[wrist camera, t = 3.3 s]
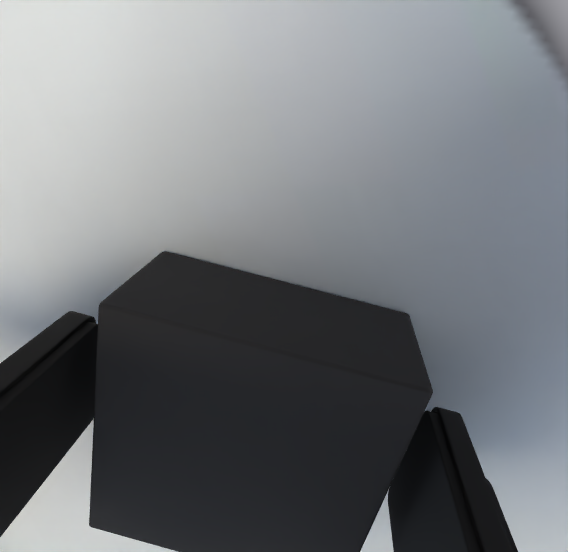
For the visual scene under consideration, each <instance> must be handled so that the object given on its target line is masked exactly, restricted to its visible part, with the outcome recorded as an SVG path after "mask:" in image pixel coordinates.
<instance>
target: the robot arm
mask: <svg viewBox="0 0 568 552" xmlns="http://www.w3.org/2000/svg"><path fill="white" fill-rule="evenodd" d="M97 338H98V324H96V320H95V318H94V317H92V316H88V315H85V314H81V313H77V312H73V311H70V312H68V313H66V314H65V315H63V316H62V317H61V318H59V319H58V320H57V321H55V322H54V323H53V324H52V325H50V326H49V327H48V328H46V329H45V330H44V331H42V332H41V333H40V334H38V335H37V336H36V337H34V338H33V339H32V340H31V341H29V342H28V343H27V344H25V345H24V346H23V347H21V348H20V349H19V350H17V351H16V352H15V353H13V354H12V355H11V356H9V357H8V358H7V359H5V360H4V361H3V362H1V363H0V537H1V536H2V534H3V533H4V532H5V530H6V529H7V528H8V527H9V525H10V524H11V523H12V522H13V520H14V519H15V518H16V516H17V515H18V514H19V513H20V511H21V510H22V509H23V508H24V506H25V505H26V504H27V503H28V501H29V500H30V499H31V497H32V496H33V495H34V494H35V492H36V491H37V490H38V489H39V487H40V486H41V485H42V483H43V482H44V481H45V480H46V478H47V477H48V476H49V475H50V473H51V472H52V471H53V469H54V468H55V467H56V466H57V464H58V463H59V462H60V461H61V459H62V458H63V457H64V456H65V454H66V453H67V452H68V450H69V449H70V448H71V447H72V445H73V444H74V443H75V442H76V440H77V439H78V438H79V436H80V435H81V434H82V433H83V431H84V430H85V429H86V428H87V426H88V425H89V424H90V423H91V421H92V420H93V418H94V406H95V383H96V361H97ZM388 506H389V514H390V523H391V531H392V540H393V548H394V552H518V550H517V548H516V545H515V543H514V540H513V538H512V535H511V533H510V530H509V528H508V525H507V522H506V520H505V517H504V515H503V512H502V510H501V507H500V505H499V502H498V500H497V497H496V495H495V492H494V490H493V487H492V485H491V484H490V482H489V481H488V480H487V479H486V478H485V476H484V473H483V471H482V468H481V465H480V463H479V460H478V458H477V455H476V452H475V450H474V447H473V445H472V442H471V439H470V437H469V434H468V432H467V429H466V426H465V424H464V421H463V419H462V416H461V415H460V414H459V413H457V412H454V411H450V410H446V409H442V408H438V407H434V408H433V409H432V411H431V412H430V411H425V412H424V413H423V415H422V417H421V419H420V422H419V424H418V426H417V428H416V430H415V433H414V435H413V437H412V439H411V441H410V444H409V446H408V448H407V450H406V452H405V454H404V457H403V459H402V461H401V463H400V465H399V468H398V470H397V472H396V474H395V476H394V479H393V481H392V483H391V485H390V488H389V493H388Z"/></svg>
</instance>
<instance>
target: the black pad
mask: <svg viewBox="0 0 568 552" xmlns="http://www.w3.org/2000/svg"><path fill="white" fill-rule="evenodd" d="M432 393H433V390H432V387H431V383H430V380H429V377H428V374H427V371H426V368H425V364H424V361H423V358H422V355H421V352H420V348H419V345H418V342H417V339H416V336H415V333H414V329H413V326H412V323H411V320H410V317H409V315H408V314H406V313H403V312H399V311H395V310H391V309H387V308H383V307H379V306H375V305H371V304H368V303H364V302H360V301H356V300H352V299H348V298H344V297H340V296H336V295H333V294H329V293H325V292H321V291H317V290H313V289H309V288H305V287H301V286H298V285H294V284H290V283H286V282H282V281H278V280H274V279H270V278H266V277H262V276H259V275H255V274H251V273H247V272H243V271H239V270H235V269H231V268H227V267H224V266H220V265H216V264H212V263H208V262H204V261H200V260H196V259H192V258H189V257H185V256H181V255H177V254H173V253H169V252H162V253H160V254H159V255H158V256H157V257H156V258H154V259H153V260H152V261H151V262H149V263H148V264H147V265H146V266H145V267H143V268H142V269H141V270H140V271H139V272H137V273H136V274H135V275H134V276H132V277H131V278H130V279H129V280H128V281H126V282H125V283H124V284H123V285H122V286H120V287H119V288H118V289H117V290H115V291H114V292H113V293H112V294H111V295H109V296H108V297H107V298H106V299H105V300H103V301H102V302H101V303H100V305H99V316H98V338H97V361H96V383H95V406H94V428H93V451H92V473H91V496H90V518H89V525H90V526H91V527H93V528H96V529H100V530H104V531H107V532H111V533H114V534H118V535H121V536H125V537H128V538H132V539H135V540H139V541H143V542H146V543H150V544H153V545H157V546H160V547H164V548H167V549H171V550H175V551H178V552H360V550H361V548H362V546H363V544H364V542H365V540H366V537H367V535H368V533H369V531H370V529H371V526H372V524H373V522H374V520H375V518H376V516H377V513H378V511H379V509H380V507H381V505H382V502H383V500H384V498H385V496H386V494H387V492H388V489H389V487H390V485H391V483H392V481H393V478H394V476H395V474H396V472H397V470H398V468H399V465H400V463H401V461H402V459H403V457H404V454H405V452H406V450H407V448H408V446H409V443H410V441H411V439H412V437H413V435H414V433H415V430H416V428H417V426H418V424H419V422H420V419H421V417H422V415H423V413H424V411H425V409H426V406H427V404H428V402H429V400H430V398H431V395H432Z"/></svg>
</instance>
